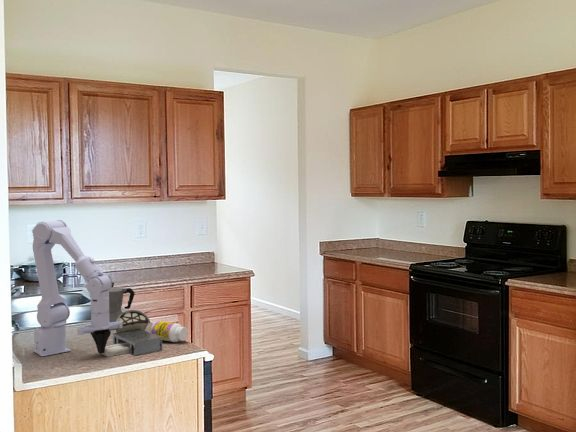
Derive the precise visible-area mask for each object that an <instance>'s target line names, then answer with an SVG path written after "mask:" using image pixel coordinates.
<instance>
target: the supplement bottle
mask: <svg viewBox="0 0 576 432" xmlns="http://www.w3.org/2000/svg"><path fill="white" fill-rule="evenodd" d="M150 333H152V334H155V335H158V336H160V337H162V342H163V341H164V342H169V343H177V342H179V341H181V342H183V341H185V340H187V339H188V335H189V330H188V328H186V327H184V326H182V325H181V324H180V323H177V322H169V321H163V320H157V321H154V322H153V323H152V325H151V328H150Z"/></svg>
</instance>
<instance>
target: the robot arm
mask: <svg viewBox="0 0 576 432" xmlns="http://www.w3.org/2000/svg"><path fill="white" fill-rule="evenodd" d="M31 232H32V237H33V240H32V241H33V242H32V253H33V257H34V263H35V266H36V274H37V278H38V284H39V285H38V286H39V289H40V294H41V299H40V301H39V303H38V304H37V305H36V308H37V313H36V320H37V322H38V324H39V325H40V327H36V328H35V329H34V334H33V339H34V342H33V344H34V350H33V352H34V353H35V354H37V355H38V356H40V357H46V356H51V355H57V354H62V353H65V352H67V353H68V352H71V348H68V347H66V346H67V343H66V342H67V341H66V337H67V335H66V324H67V320H68V319H69V318H70V315H71V313H70V312H71V311H70V308H69V305H68V304H67V302H66V299H65V298H64V297H63V296H61V295H60V292H59V286H58V279H57V274H56V269H55V263H54V259H53V254H52V249H53V248H54V247H55V245H61V247H62V248H63V249H64V250H65V251H66V253H67V254H68V255H69V256H70V257H71V258H72V259H73V260H74V262H75V269H76V270H77V272H78V273H79V275H80V276H81V277H82V278H83V279H84V281H85V282H86V286H85V287H86V290H87V292H88V293H89V298H90V322H91V323H90V324H88V325H86V326H83V327H78V328H77V335H79V336H83V335H87V334H90V335H91V337H92V339H93V341H94V343H95V346H96V350H97V353H98V354H100V355H103V354H102V353H104V350H105V346H107V343H108V340H109V338H110V336H111V332H112V330H109V329H115V328H123V326H122V322H121V321H117V322H110V321H109V290H110V289H111V287H112V282H113V279H112V278H111V275H109V274H108V273H104V272H103V271H102V270H101V269H100V268H99V267H98V265H97V264H96V263H95V262H96V261H95V259H94V258H92V257H91V256H87V255H85V253H84V252H83V251H82V250H81V248H80V246H79V245H78V243H77V242H76V241H75V238H74V237H73V235H72V233H71V228H70V227H69V226H68V225H67V223H66V222H65V221H63V220H61V219H58V220H52V221H51V220H50V221H49V220H48V221H39V222H37V223H36V225H35V226H33V229H32V230H31Z"/></svg>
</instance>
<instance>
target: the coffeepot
mask: <svg viewBox="0 0 576 432" xmlns="http://www.w3.org/2000/svg"><path fill="white" fill-rule="evenodd" d="M114 284H115V282H113V281H112V287H111V289H110V290H109V321H110V322H116V320H117V319H118V317H119V316H120V315H121V314H122V313H123V310H122V307H123V301H124V300H123V299H124V294H129V298H128V301H127V306H124V309H125V310H129V309H130V308H131V306H132V303H133V301H134V297H135V291H134V290H133V289H132V288H131V287H130V288H129V287H128V288H123V287H119V286H115V285H114ZM109 331H117V328H115V329H109Z"/></svg>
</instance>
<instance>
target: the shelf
mask: <svg viewBox="0 0 576 432" xmlns="http://www.w3.org/2000/svg"><path fill="white" fill-rule="evenodd" d="M112 338H113V342H112V343H113V344H112V345H115V344H120V343H125V342H128V343H130V355H133V356H134V357H136V356H140V355H141V356H142V355H144V354H145V355H146V354H150V353H153V352H159V351H163V340H162V337H160V336H158V335H155V334H152V333H151V331H147V330H145V331H144V330H142V329H135V330H129V331H124V332H118V333H116V332H113V334H112Z"/></svg>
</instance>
